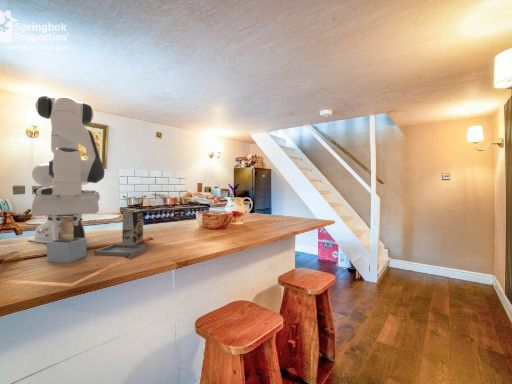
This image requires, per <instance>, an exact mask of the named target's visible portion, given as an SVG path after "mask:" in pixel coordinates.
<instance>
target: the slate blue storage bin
mask: <svg viewBox="0 0 512 384" xmlns="http://www.w3.org/2000/svg"><path fill="white" fill-rule="evenodd" d="M86 257H87V237H86V238H74V241H72V242H69V243H65V242H60V239H58V240H54V241H50V242H47V243H46V262H47V263H49V262H50V263H65V264H66V263H67V264H69V263H71V262H75V261H77V260H79V259H82V258H86Z"/></svg>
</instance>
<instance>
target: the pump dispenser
mask: <svg viewBox="0 0 512 384" xmlns="http://www.w3.org/2000/svg"><path fill="white" fill-rule="evenodd" d="M77 219H78V217H76V216H74V221H76V220H77ZM82 221H83V218H81V219H80V220H79V221H78V226H74V238H86V239H87V237H86V232H85V227H84V225H83V223H82ZM60 228H61V227H60ZM58 239H60V230H59V234H58ZM58 239H57V240H58Z"/></svg>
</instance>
